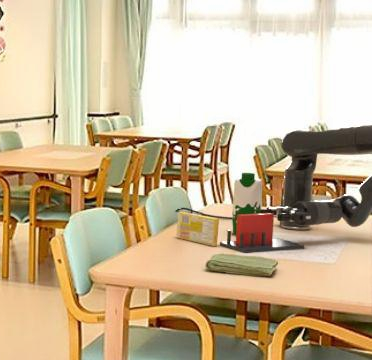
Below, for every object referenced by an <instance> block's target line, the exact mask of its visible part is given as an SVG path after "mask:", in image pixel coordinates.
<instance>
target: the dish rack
mask: <svg viewBox="0 0 372 360" xmlns="http://www.w3.org/2000/svg"><path fill="white" fill-rule="evenodd" d="M254 238H255V233H251V245H246V246H243V239H244V234H240V246H239V245H236V240H231V239H232V229H231V230H230V229H228V230H227V234H226V241H219V246H221V247H223V248H226V249H227V248H228V249H231V250H235V251H237V252H240V253H244V254H247V253H258V252H260V253H261V252H273V251H286V250H298V249H299V250H300V249H304V248H305V244H301V243H298V242H293V241H289V240H286V239H283V238H280V237H279V238H278V237H274V238H273V239H272V244H265V232H262V243H261V244H260V245H254Z"/></svg>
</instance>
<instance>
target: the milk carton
mask: <svg viewBox="0 0 372 360" xmlns="http://www.w3.org/2000/svg"><path fill="white" fill-rule="evenodd" d="M255 177H256V173H254V172H241V177H236V178H235V179H234V185H233V196H232V197H233V198H232V216H231V217H232V219H231V221H232V235H233V236H236V229H237V215H241V214H259V210H260V209H262V201H263V182H262V180H263V179H262V178H255Z"/></svg>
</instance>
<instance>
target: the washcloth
mask: <svg viewBox="0 0 372 360" xmlns="http://www.w3.org/2000/svg"><path fill="white" fill-rule="evenodd" d="M278 264H279V260H276V259H273V258H267V257H262V256H252V255H251V256H250V255H237V254H231V253H216V254H213V255H211V257H210V258H209V259H208V260H207V261H206V262H205V265H204V266H205V268H206V269H207V270H208V271H211V272H218V273H226V274H236V275H244V276H255V277H256V276H257V277H271V275H273V274H272V273H273V272H274V271H275V270H276V269H277V266H278Z"/></svg>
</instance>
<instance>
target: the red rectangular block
mask: <svg viewBox="0 0 372 360" xmlns="http://www.w3.org/2000/svg"><path fill="white" fill-rule="evenodd" d="M274 219H275V217H274V214H271V213H260V214H241V215H237V229H236V235H235V241H236V245H239V246H240V234H244V239H243V246H246V245H251V233H255V238H254V245H260V244H261V243H262V232H265V244H272V239H273V237H274Z"/></svg>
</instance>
